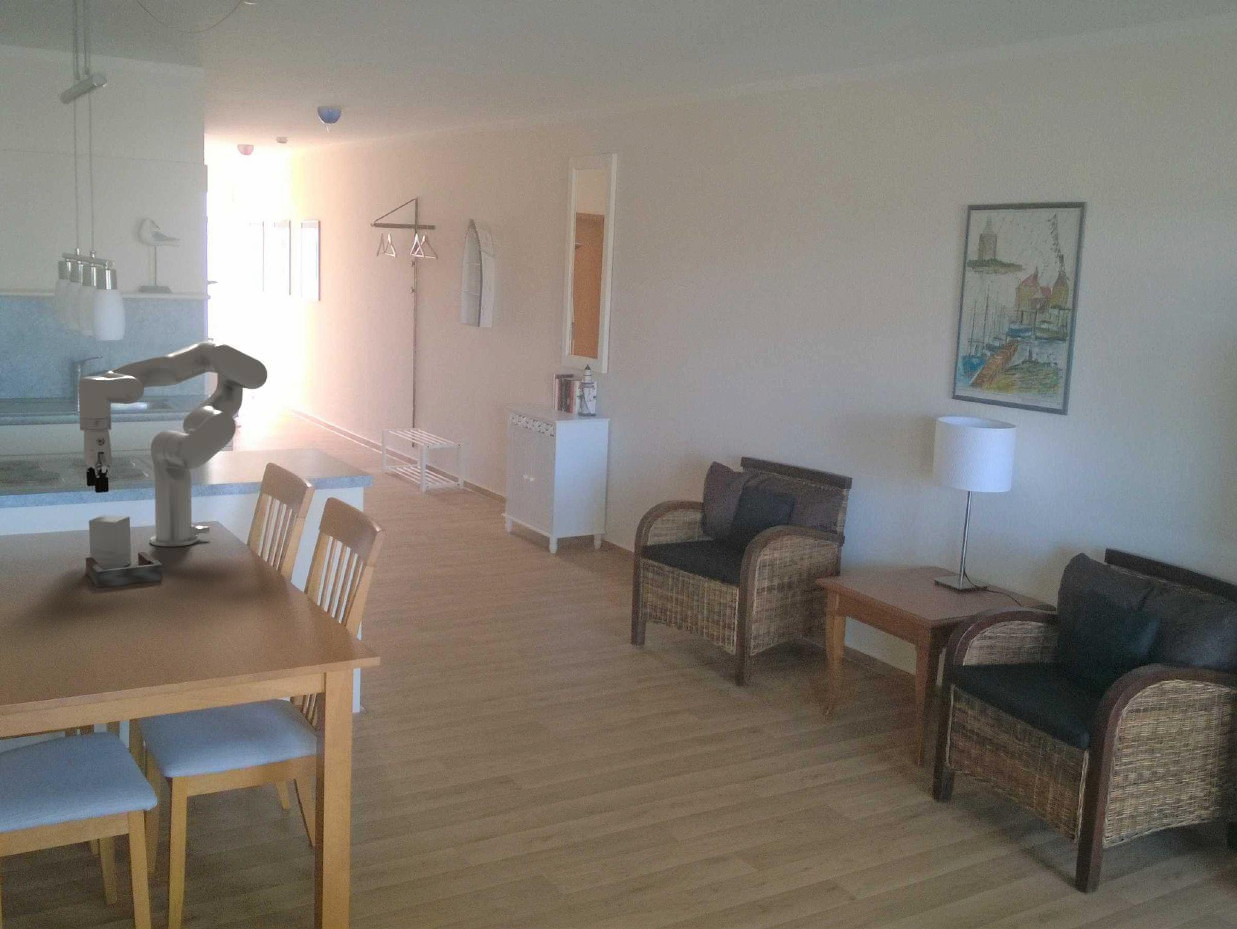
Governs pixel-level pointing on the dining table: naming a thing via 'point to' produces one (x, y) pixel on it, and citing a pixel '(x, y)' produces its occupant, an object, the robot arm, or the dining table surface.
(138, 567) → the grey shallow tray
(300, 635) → the dining table surface
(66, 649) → the dining table surface
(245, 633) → the dining table surface
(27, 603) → the dining table surface
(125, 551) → the supplement box
